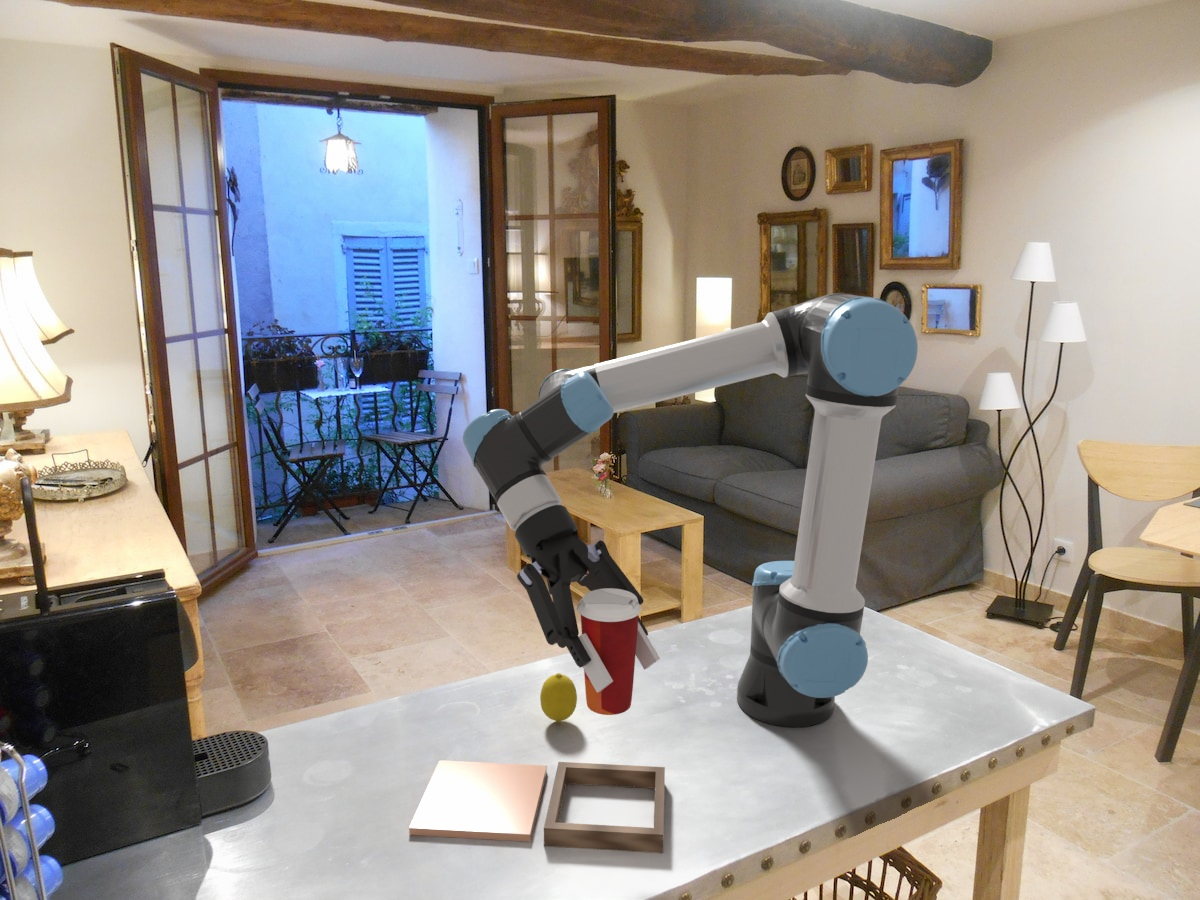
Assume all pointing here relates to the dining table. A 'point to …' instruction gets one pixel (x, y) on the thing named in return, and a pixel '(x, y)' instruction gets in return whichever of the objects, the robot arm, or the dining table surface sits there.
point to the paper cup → (611, 645)
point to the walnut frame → (605, 834)
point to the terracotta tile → (480, 801)
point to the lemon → (558, 697)
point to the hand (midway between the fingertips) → (629, 675)
